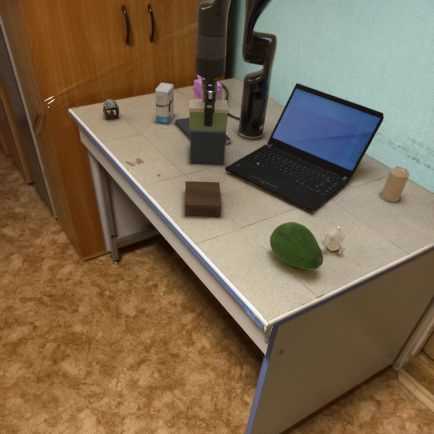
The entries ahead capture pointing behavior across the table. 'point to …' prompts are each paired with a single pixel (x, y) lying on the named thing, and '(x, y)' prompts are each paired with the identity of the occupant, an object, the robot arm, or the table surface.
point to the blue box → (207, 147)
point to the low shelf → (202, 199)
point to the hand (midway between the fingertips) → (207, 120)
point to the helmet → (110, 108)
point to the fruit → (296, 246)
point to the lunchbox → (198, 114)
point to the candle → (395, 184)
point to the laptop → (311, 148)
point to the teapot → (198, 89)
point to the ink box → (164, 102)
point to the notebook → (184, 126)
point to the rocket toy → (334, 239)
